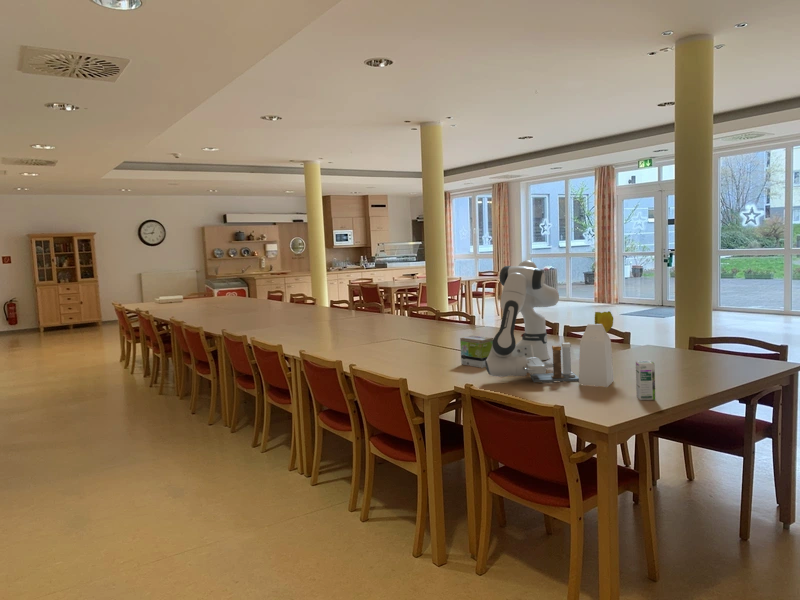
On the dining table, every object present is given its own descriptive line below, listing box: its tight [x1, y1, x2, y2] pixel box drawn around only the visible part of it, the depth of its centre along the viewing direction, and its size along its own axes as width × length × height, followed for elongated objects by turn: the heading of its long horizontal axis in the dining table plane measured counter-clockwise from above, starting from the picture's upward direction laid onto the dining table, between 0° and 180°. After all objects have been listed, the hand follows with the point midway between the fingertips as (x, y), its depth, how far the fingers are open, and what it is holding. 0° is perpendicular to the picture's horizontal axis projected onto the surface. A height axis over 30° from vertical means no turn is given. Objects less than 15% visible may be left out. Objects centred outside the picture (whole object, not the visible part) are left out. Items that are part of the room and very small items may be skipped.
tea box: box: [459, 335, 494, 369], centre depth 308 cm, size 15×10×15 cm, turn 42°
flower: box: [594, 310, 614, 333], centre depth 267 cm, size 9×8×30 cm
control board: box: [529, 372, 579, 384], centre depth 268 cm, size 20×13×2 cm, turn 86°
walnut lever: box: [551, 344, 564, 378], centre depth 264 cm, size 5×4×14 cm
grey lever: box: [561, 342, 574, 375], centre depth 270 cm, size 5×4×14 cm
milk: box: [578, 323, 615, 388], centre depth 255 cm, size 12×12×26 cm
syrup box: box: [635, 360, 656, 401], centre depth 227 cm, size 6×6×14 cm
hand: (552, 364), depth 264 cm, fingers closed
